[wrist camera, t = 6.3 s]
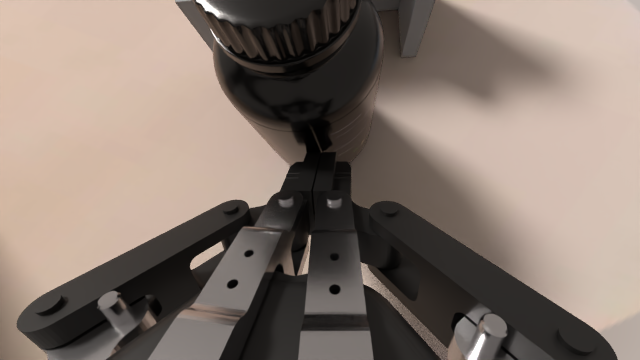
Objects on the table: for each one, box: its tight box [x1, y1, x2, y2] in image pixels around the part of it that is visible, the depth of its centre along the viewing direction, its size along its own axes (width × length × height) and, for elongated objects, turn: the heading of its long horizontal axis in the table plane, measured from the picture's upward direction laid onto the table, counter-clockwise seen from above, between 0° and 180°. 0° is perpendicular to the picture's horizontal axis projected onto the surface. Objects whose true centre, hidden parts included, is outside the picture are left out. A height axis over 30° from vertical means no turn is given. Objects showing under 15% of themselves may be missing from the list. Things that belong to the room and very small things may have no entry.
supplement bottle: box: [193, 0, 384, 165], centre depth 13 cm, size 7×7×12 cm
